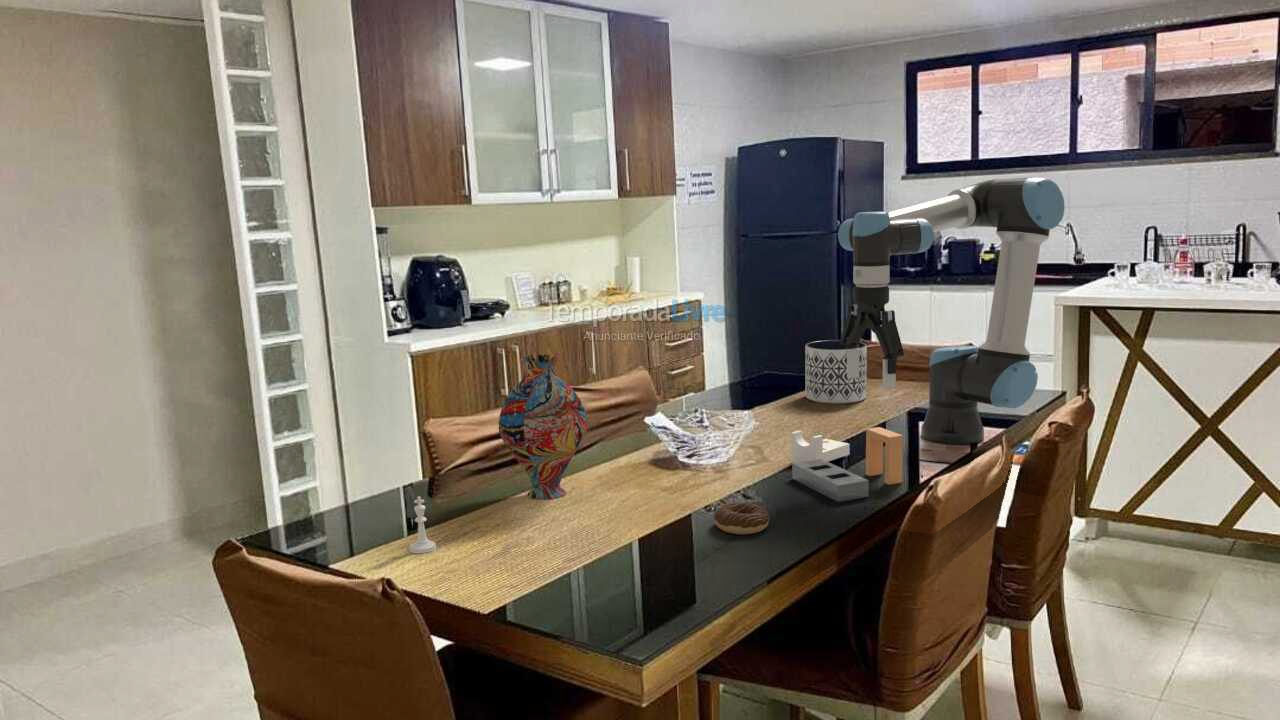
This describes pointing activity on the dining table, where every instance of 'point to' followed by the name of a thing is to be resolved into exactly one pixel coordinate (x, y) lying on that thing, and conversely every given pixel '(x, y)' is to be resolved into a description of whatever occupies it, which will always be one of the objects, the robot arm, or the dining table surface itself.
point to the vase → (543, 425)
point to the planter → (833, 373)
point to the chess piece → (421, 532)
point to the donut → (741, 518)
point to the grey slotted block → (830, 480)
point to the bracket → (816, 448)
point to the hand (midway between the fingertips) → (870, 383)
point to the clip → (892, 454)
